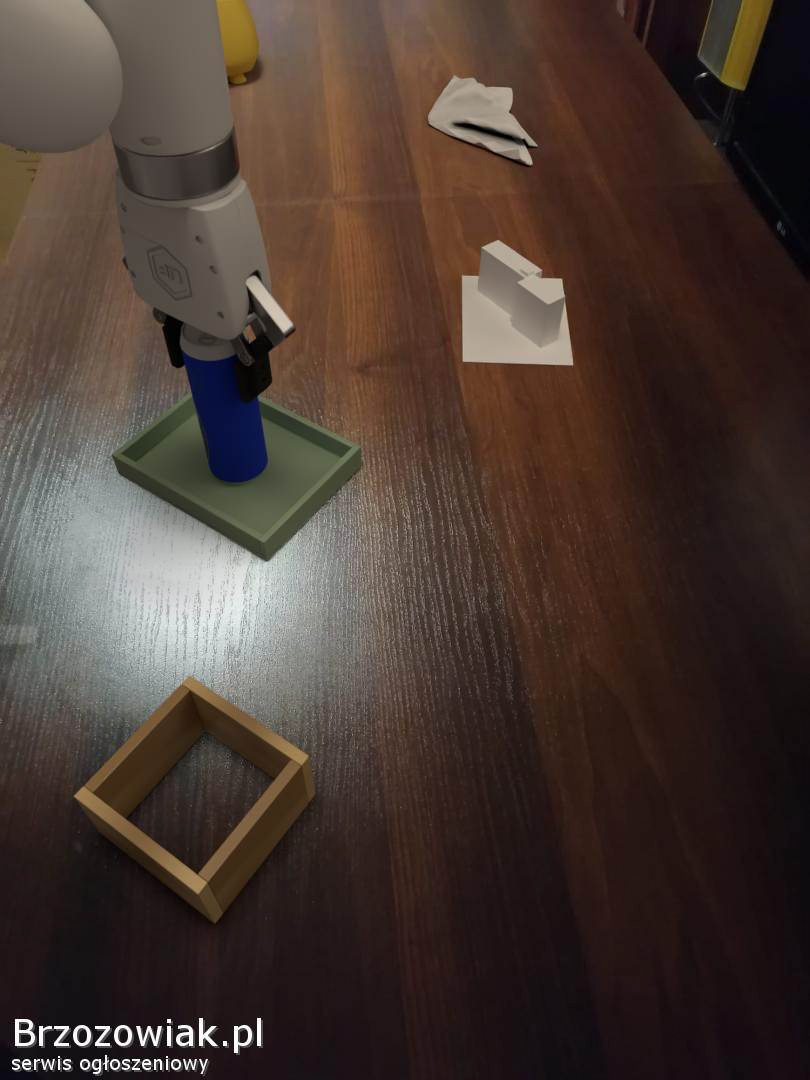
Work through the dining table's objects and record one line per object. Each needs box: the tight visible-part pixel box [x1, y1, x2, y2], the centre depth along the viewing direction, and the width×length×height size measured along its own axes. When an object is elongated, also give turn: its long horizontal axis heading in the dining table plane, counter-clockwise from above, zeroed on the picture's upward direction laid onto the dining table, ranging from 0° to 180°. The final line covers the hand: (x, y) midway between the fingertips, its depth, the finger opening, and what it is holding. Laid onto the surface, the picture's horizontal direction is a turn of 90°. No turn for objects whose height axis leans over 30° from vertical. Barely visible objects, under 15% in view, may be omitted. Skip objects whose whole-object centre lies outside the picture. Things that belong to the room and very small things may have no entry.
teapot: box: [216, 0, 260, 85], centre depth 123 cm, size 13×20×12 cm
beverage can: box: [180, 322, 268, 484], centre depth 71 cm, size 5×5×15 cm
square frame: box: [73, 675, 316, 925], centre depth 55 cm, size 10×10×6 cm
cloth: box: [427, 74, 539, 167], centre depth 118 cm, size 26×14×2 cm, turn 6°
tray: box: [111, 391, 363, 562], centre depth 76 cm, size 17×13×2 cm
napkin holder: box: [461, 239, 574, 366], centre depth 89 cm, size 15×11×6 cm
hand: (221, 373), depth 68 cm, fingers open, 6 cm apart
